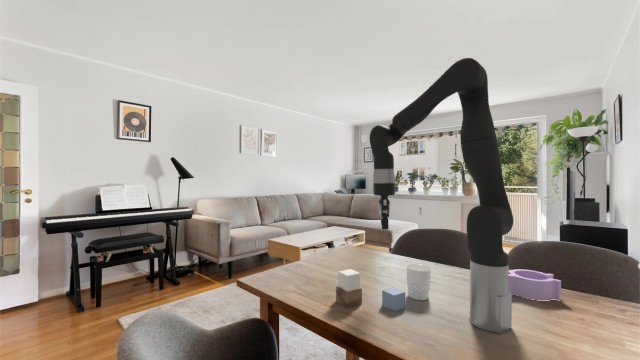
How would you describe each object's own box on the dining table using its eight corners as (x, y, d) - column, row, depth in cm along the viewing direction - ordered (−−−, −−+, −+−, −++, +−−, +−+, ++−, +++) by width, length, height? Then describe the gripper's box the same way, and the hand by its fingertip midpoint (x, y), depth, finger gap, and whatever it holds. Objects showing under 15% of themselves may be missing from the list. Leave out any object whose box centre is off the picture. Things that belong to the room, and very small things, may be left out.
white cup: (414, 302, 96) (414, 271, 96) (401, 293, 104) (402, 264, 104) (435, 299, 98) (435, 269, 98) (421, 290, 106) (421, 263, 106)
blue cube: (405, 307, 92) (405, 291, 92) (393, 311, 90) (394, 295, 90) (393, 302, 97) (393, 286, 97) (382, 305, 94) (382, 290, 94)
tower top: (360, 288, 95) (360, 273, 95) (347, 291, 93) (347, 275, 93) (350, 283, 99) (350, 268, 99) (338, 286, 97) (338, 271, 97)
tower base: (361, 304, 95) (361, 288, 95) (347, 308, 92) (347, 292, 92) (350, 297, 100) (350, 282, 100) (335, 301, 97) (335, 286, 97)
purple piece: (493, 296, 102) (493, 276, 102) (486, 283, 113) (486, 265, 113) (564, 305, 95) (564, 283, 94) (549, 291, 106) (550, 271, 106)
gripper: (396, 181, 98) (397, 230, 98) (393, 181, 112) (393, 224, 112) (373, 182, 99) (374, 230, 99) (373, 182, 113) (373, 224, 113)
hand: (384, 227), depth 106 cm, fingers open, 8 cm apart
